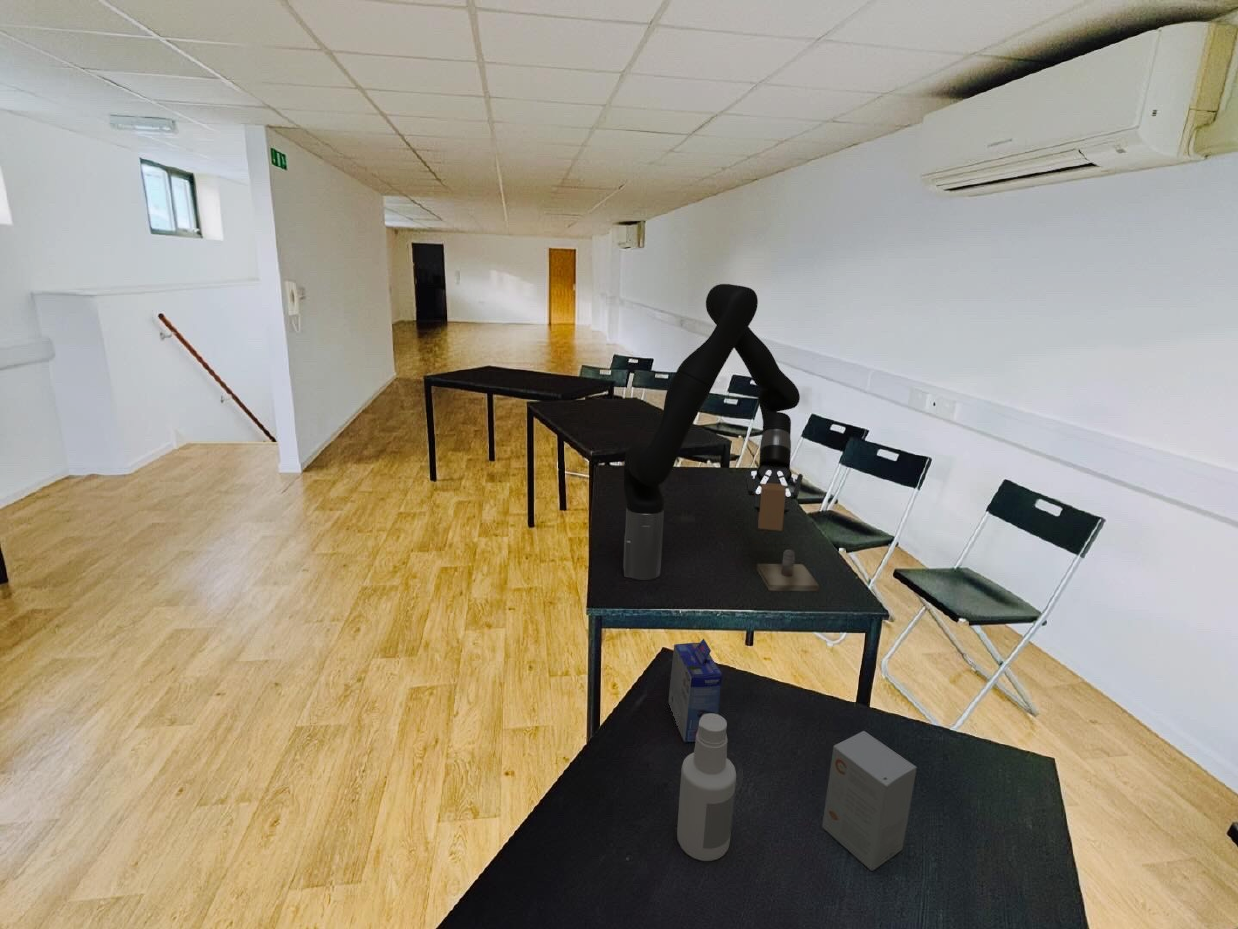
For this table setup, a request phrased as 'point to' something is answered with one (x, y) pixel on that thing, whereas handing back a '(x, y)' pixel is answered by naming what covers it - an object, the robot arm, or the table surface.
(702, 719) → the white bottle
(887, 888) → the table surface
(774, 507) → the tall brown carton
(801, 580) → the post stand
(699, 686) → the ink cartridge box
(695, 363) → the robot arm
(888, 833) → the small box
